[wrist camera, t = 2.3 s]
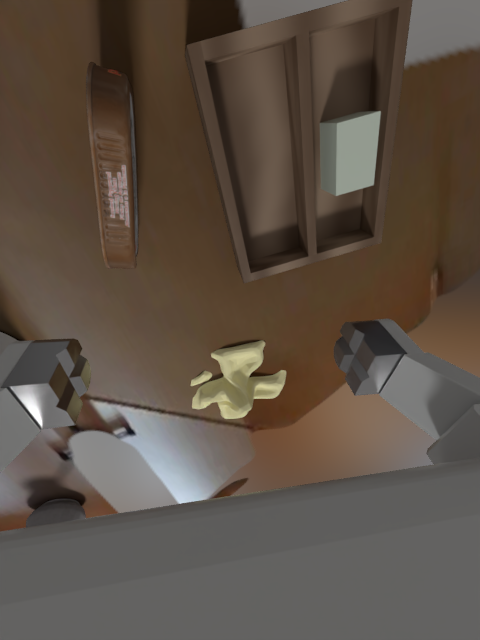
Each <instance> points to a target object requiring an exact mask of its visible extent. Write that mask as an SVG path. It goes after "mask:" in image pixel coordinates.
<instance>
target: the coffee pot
mask: <svg viewBox="0 0 480 640" xmlns="http://www.w3.org/2000/svg"><path fill="white" fill-rule="evenodd" d="M85 517H86V516H85V511H84V509H83V507H82V506H81V505H80V504H79V502H78V501H76V500H73V499H54V500H50V501H48V502H45V503H44V504H43V505H42V506H40V507H39V508H37V509H36V510H35V511H33V512H32V514H31V515H30V516H29V517H28V519H27V521H26V528H27V527H34V526H40V525H47V524H53V523H60V522H66V521H73V520H79V519H85Z"/></svg>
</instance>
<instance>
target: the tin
mask: <svg viewBox="0 0 480 640" xmlns="http://www.w3.org/2000/svg"><path fill="white" fill-rule="evenodd" d="M86 96H87V119H88V128H89V140H90V148H91V157H92V166H93V175H94V184H95V192H96V201H97V210H98V220H99V229H100V238H101V246H102V252H103V257H104V261H105V264H106V267H107V268H108V269H111V268H124V269H133V268H136V266H137V264H136V256H137V254H138V187H137V155H136V134H135V114H134V100H133V91H132V87H131V85H130V83H129V80H128V77H127V75H126V74H125V73H122V72H120V71H116V70H112V69H108V68H104V67H100V66H97V65H96V64H95V63H94V62H90V63H89V66H88V70H87V77H86Z"/></svg>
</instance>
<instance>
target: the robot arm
mask: <svg viewBox="0 0 480 640" xmlns="http://www.w3.org/2000/svg"><path fill="white" fill-rule="evenodd" d="M340 333H341V334H342V337H341V338H340V339H338V340H337V341H336V343H335V346H334V358H335V361H336V364H337V365H338V367H339V369H341V370H342V371H344V372H345V373H346V377H345V380H346V381H347V383H348V385H349V386H350V388H351V390H352V392H353V393H354V395H368V394H379V395H380V396H381V397H382V398H384V399H385V400H386V401H387V402H389V403H390V404H391V405H392V406H394V407H395V408H396V409H398V410H399V411H400V412H401V413H402V414H404V415H405V416H406V417H408V418H409V419H410V420H411V421H412V422H414V423H415V424H416V425H417V426H419V427H420V428H421V429H423V430H424V431H425V432H426V433H427V434H429V435H430V436H431V437H433V438H434V439H435V440H436V442H435V443H433V444H432V445H431V446H430V447H429V448H428V450H427V455H428V457H429V458H430V460H431V461H432V462H433V464H434V465H428V466H422V467H415V468H408V469H402V470H396V471H390V472H383V473H376V474H370V475H363V476H357V477H350V478H344V479H338V480H331V481H325V482H318V483H312V484H305V485H300V486H292V487H286V488H279V489H273V490H266V491H260V492H253V493H247V494H240V495H234V496H227V497H221V498H215V499H208V500H202V501H195V502H189V503H182V504H176V505H169V506H163V507H156V508H151V509H144V510H138V511H131V512H124V513H118V514H111V515H105V516H98V517H92V518H86V519H79V520H73V521H66V522H60V523H53V524H47V525H40V526H34V527H27V528H21V529H15V530H8V531H2V532H0V640H480V378H479V377H477V376H475V375H473V374H471V373H469V372H467V371H465V370H463V369H461V368H459V367H456V366H455V365H453V364H451V363H449V362H447V361H445V360H442V359H441V358H438V357H436V356H434V355H432V354H430V353H424V352H423V351H422V350H421V349H420V348H419V347H418V346H417V345H416V344H415V343H414V342H413V341H412V340H411V339H410V338H409V337H408V335H407V334H406V333H405V332H404V331H403V330H402V329H401V328H400V327H399V326H398V325H397V324H396V323H395V322H394V321H393V320H390V319H380V320H370V321H355V322H345V323H344V324H343V325H342V328H341V330H340ZM81 350H82V347H81V345H80V343H79V341H78V340H76V339H51V340H35V341H18V340H16V339H15V338H13V337H11V336H9V335H6V334H4V333H2V332H0V473H1V472H2V471H3V470H4V469H5V468H6V467H7V466H8V465H9V464H10V463H11V462H12V461H13V460H14V459H15V458H16V456H17V455H18V454H19V453H20V452H21V451H22V450H23V449H24V448H25V447H26V446H27V445H28V444H29V443H30V442H31V441H32V440H33V439H34V438H35V437H36V436H37V435H38V434H39V433H40V432H41V430H40V429H48V428H56V427H63V426H71V425H75V424H76V421H77V418H78V415H79V413H80V410H81V407H82V404H83V403H82V401H81V400H80V398H79V397H80V396H82V395H83V394H84V393H85V392H86V391H87V390H88V387H89V384H90V378H91V370H90V365H89V363H88V360H87V359H86V358H84V357H83V356H81V355H80V352H81Z"/></svg>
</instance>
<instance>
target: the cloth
mask: <svg viewBox="0 0 480 640" xmlns="http://www.w3.org/2000/svg"><path fill="white" fill-rule="evenodd" d="M264 346H265V342H264V341H263V340H261V341H257V342H253V343H248V344H243V345H239V346H235V347H229V348H223V349H219V350H216V351H214V352H213V353H212V354H211V357H212V358H214V359H216V360H218V362H219V363H220V367H221V371H222V373H223V374H224V375H223V377H222V378H220V379H217V380H214V381H210V382H207V383H205V384H204V385H202V386H201V387H199V389H198V391H197V393H196V395H195V396H194V397H193V404H192V408H195V409H202V408H205V407H207V406H208V405H209V404H211V402H218V405H219V408H220V410H221V415H222V417H224V418H225V419H235V418H241V417H244V416H245V415H246V414H247V413H248V411H250V410H251V409H252V405H253V400H254V399H257V398H264V399H269V398H275V397H276V396H277V395H278V394H279V393H280V391H281V390H282V388H283V386H284V383H285V378H286V371H285V370H284V371H283V370H281V371H280V372H279V373H276V374H274V375H270V376H262V377H249V376H250V374H251V373H252V372H253V371H254V370H256V369H257V368H258V367H259V366H260V365H261V363H262V361H263V348H264ZM211 377H212V374H211V373H210V372H207V371H203V372H202V373H201V374H200V375H199V376H197V377H195V378H194V379H193V380H192V382H191V386H194V385H196V384H199V383H202V382H204V381H208V380H209V379H210V378H211Z"/></svg>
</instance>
